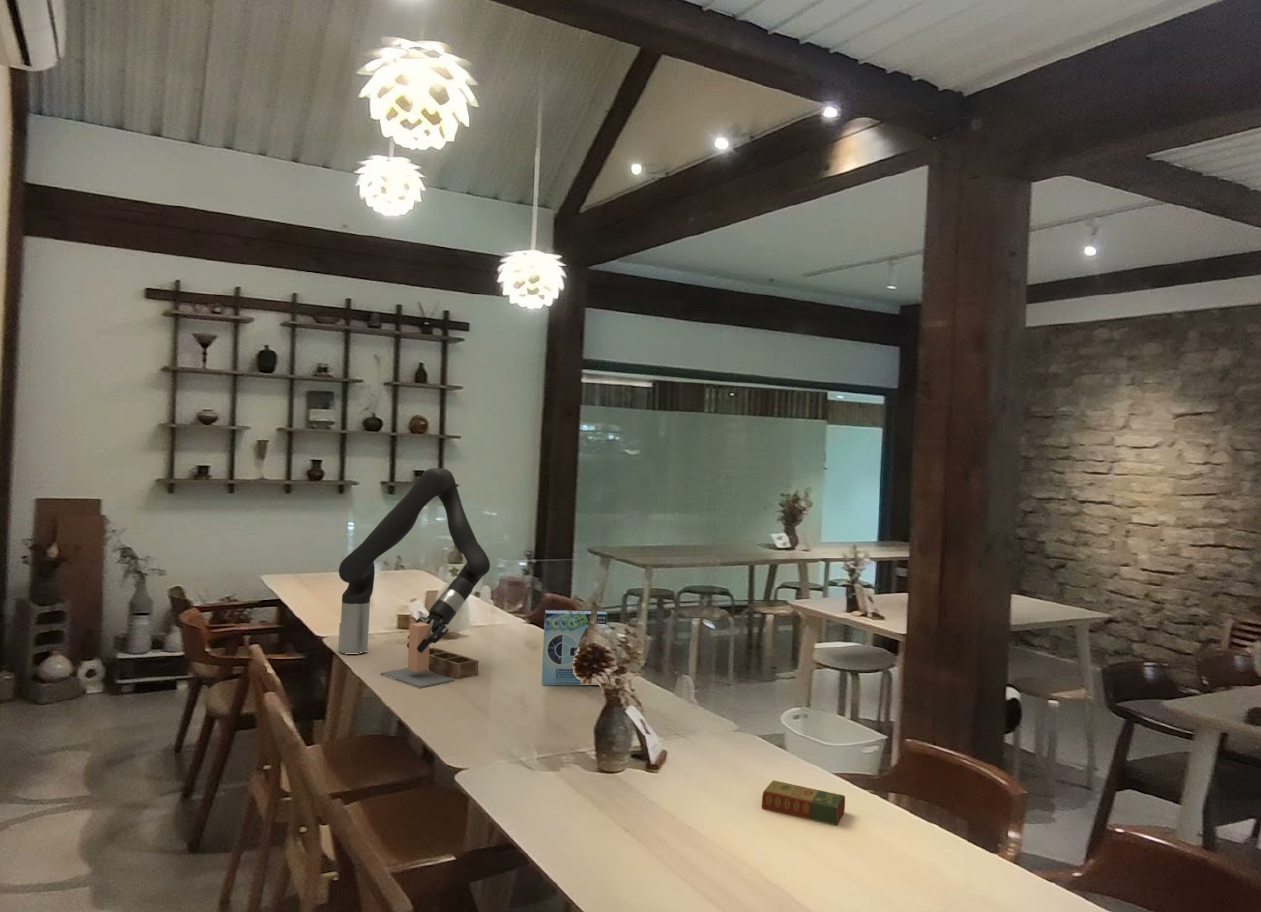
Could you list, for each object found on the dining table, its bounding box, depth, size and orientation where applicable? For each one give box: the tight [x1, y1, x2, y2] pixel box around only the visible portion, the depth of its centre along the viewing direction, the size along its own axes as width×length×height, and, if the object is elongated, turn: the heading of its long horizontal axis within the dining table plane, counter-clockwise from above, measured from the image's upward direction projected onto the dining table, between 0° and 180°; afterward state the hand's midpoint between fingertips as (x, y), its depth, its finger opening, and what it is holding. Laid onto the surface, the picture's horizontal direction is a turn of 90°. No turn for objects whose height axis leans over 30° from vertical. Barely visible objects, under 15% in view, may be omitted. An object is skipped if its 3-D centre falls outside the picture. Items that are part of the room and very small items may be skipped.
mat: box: [380, 667, 456, 689], centre depth 281 cm, size 20×13×1 cm, turn 50°
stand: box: [428, 647, 480, 680], centre depth 292 cm, size 23×8×4 cm, turn 50°
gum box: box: [541, 609, 608, 687], centre depth 283 cm, size 20×5×23 cm, turn 98°
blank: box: [407, 622, 431, 672], centre depth 280 cm, size 4×4×14 cm
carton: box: [761, 780, 846, 827], centre depth 192 cm, size 8×16×4 cm, turn 66°
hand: (414, 649), depth 279 cm, fingers closed on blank, 4 cm apart
